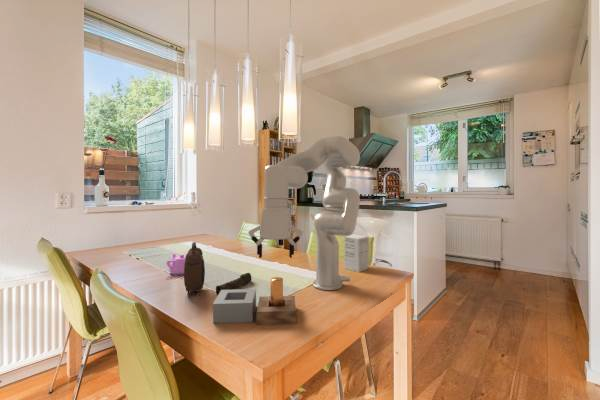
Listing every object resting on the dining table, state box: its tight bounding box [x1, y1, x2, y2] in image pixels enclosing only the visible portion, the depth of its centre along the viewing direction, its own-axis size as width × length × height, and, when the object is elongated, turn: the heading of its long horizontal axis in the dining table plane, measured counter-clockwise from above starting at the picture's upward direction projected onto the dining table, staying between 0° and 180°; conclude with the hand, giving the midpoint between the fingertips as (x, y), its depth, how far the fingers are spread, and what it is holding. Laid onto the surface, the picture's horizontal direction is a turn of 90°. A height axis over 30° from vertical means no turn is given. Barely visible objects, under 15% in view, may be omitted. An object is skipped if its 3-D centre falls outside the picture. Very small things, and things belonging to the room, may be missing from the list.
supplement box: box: [343, 234, 370, 273], centre depth 144 cm, size 10×9×17 cm
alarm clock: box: [183, 241, 206, 296], centre depth 112 cm, size 15×7×20 cm, turn 17°
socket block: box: [212, 288, 257, 324], centre depth 92 cm, size 12×12×6 cm
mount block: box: [256, 295, 297, 326], centre depth 91 cm, size 12×12×4 cm
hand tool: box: [215, 272, 253, 296], centre depth 117 cm, size 19×4×5 cm, turn 146°
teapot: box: [166, 252, 186, 276], centre depth 139 cm, size 12×14×9 cm
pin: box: [270, 276, 284, 307], centre depth 91 cm, size 4×4×12 cm
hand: (275, 256), depth 90 cm, fingers open, 9 cm apart
